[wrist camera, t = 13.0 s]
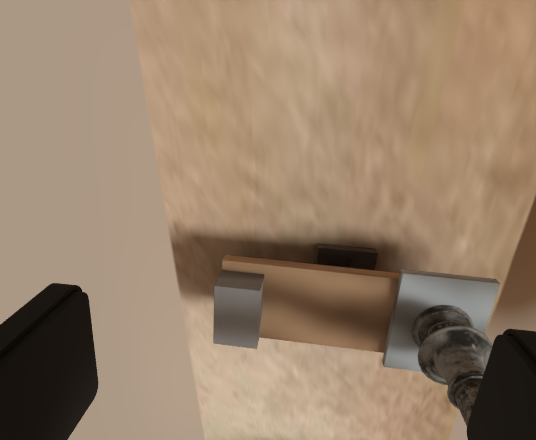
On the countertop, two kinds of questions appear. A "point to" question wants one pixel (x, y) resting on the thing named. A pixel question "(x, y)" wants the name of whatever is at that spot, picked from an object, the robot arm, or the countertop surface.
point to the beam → (338, 305)
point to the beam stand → (346, 256)
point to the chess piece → (452, 353)
